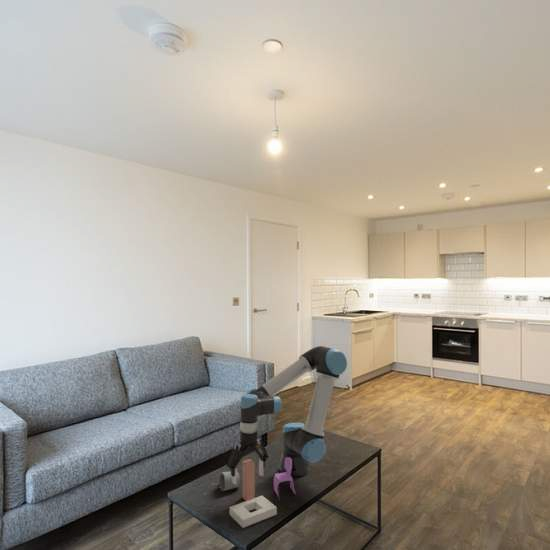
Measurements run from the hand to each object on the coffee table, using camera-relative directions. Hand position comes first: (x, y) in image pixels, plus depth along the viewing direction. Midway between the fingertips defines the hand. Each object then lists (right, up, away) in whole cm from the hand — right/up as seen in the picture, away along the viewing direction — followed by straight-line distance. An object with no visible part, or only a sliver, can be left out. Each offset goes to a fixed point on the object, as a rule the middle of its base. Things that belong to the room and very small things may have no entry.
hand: (248, 479), depth 176 cm
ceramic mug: (-10, -9, +10) cm, 16 cm away
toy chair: (+16, -9, +5) cm, 19 cm away
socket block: (+3, -8, -13) cm, 15 cm away
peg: (0, -8, 0) cm, 8 cm away
